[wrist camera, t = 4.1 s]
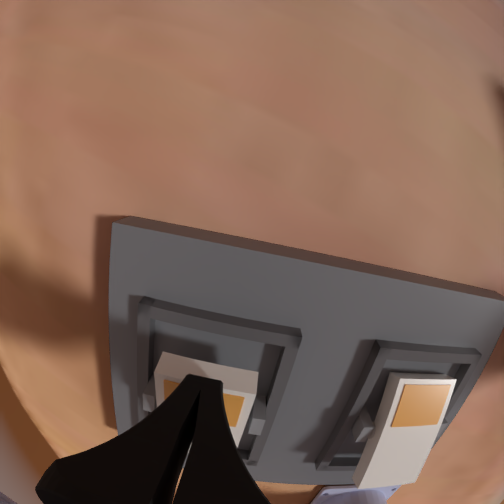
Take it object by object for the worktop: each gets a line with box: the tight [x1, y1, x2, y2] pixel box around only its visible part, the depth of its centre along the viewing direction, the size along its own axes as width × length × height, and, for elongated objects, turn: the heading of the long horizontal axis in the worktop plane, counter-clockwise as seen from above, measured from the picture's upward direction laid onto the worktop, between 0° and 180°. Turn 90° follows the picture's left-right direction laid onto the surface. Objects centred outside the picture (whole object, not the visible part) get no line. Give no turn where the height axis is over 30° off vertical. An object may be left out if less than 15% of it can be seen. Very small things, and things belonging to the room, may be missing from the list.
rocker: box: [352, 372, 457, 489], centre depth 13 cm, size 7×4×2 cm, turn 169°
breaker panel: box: [109, 216, 504, 485], centre depth 15 cm, size 16×22×4 cm
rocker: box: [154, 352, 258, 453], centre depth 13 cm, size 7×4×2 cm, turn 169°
